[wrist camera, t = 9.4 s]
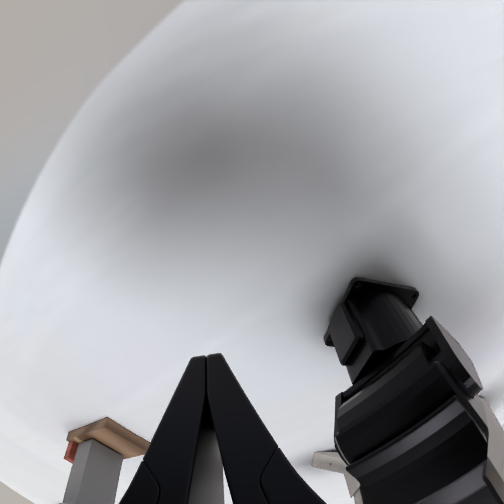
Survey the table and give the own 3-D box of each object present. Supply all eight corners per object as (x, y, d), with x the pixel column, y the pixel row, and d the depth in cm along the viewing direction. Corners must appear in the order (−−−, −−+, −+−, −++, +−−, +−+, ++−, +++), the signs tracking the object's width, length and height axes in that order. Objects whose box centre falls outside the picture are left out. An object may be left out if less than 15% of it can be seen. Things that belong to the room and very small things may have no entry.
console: (107, 417, 30) (98, 447, 26) (151, 443, 32) (146, 472, 28) (68, 432, 32) (60, 456, 28) (107, 455, 35) (101, 479, 31)
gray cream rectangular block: (92, 438, 29) (74, 509, 20) (124, 456, 31) (111, 525, 22) (78, 442, 30) (60, 508, 21) (108, 460, 32) (95, 523, 23)
